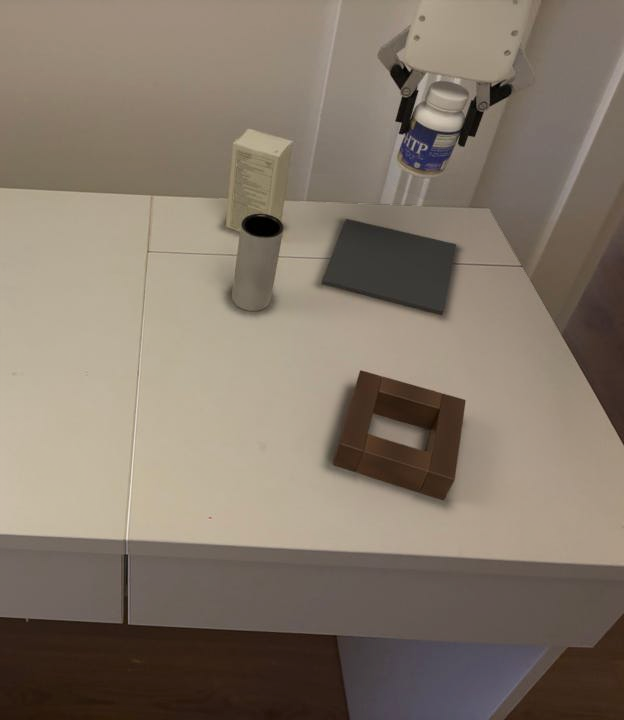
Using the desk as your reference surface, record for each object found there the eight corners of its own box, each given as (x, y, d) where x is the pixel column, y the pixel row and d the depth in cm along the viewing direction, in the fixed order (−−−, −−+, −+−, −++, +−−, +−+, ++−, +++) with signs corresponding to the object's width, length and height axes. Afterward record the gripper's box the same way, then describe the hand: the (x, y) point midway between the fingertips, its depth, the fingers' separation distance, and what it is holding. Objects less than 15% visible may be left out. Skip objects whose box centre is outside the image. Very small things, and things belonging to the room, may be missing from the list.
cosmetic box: (281, 226, 97) (296, 141, 89) (266, 243, 95) (280, 157, 86) (238, 211, 100) (248, 126, 91) (222, 227, 97) (232, 141, 88)
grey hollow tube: (253, 281, 89) (264, 208, 82) (278, 302, 86) (292, 228, 79) (223, 295, 87) (232, 221, 80) (248, 316, 85) (260, 242, 77)
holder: (455, 421, 74) (466, 399, 72) (443, 500, 67) (454, 479, 65) (353, 391, 77) (360, 369, 74) (332, 464, 70) (339, 443, 68)
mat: (455, 247, 95) (456, 244, 94) (442, 315, 85) (443, 311, 85) (345, 222, 98) (346, 218, 98) (321, 284, 89) (322, 280, 89)
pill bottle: (385, 156, 83) (412, 80, 76) (424, 150, 84) (454, 75, 78) (413, 182, 79) (444, 104, 73) (453, 176, 81) (487, 99, 74)
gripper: (595, -52, 66) (519, 135, 79) (400, -77, 71) (358, 104, 84) (597, -26, 61) (515, 169, 74) (387, -55, 66) (344, 134, 79)
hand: (433, 133), depth 79 cm, fingers closed on pill bottle, 5 cm apart
